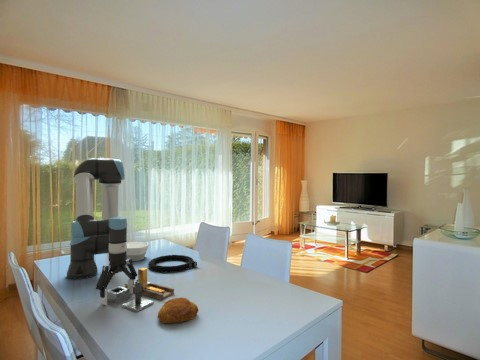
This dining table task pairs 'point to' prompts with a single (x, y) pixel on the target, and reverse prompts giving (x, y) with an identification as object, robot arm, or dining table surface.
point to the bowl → (136, 250)
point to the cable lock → (182, 267)
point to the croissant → (177, 310)
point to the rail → (154, 294)
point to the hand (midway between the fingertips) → (117, 298)
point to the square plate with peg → (138, 300)
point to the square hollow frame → (117, 294)
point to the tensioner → (144, 284)
